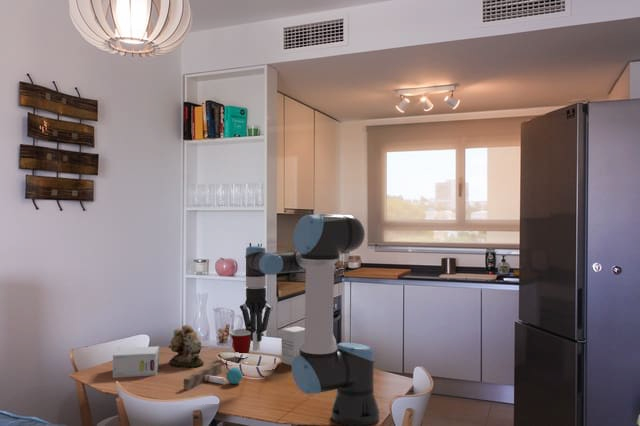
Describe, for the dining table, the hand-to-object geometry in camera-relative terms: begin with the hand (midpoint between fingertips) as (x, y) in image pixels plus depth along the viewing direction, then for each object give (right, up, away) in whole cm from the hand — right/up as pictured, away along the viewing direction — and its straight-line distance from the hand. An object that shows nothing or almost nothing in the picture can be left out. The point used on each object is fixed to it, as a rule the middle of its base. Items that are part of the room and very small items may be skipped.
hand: (256, 349), depth 205 cm
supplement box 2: (+13, -14, +33) cm, 39 cm away
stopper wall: (-22, -14, +8) cm, 27 cm away
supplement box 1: (-52, -15, +21) cm, 58 cm away
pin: (-13, -13, +4) cm, 18 cm away
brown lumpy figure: (-35, -15, +33) cm, 50 cm away
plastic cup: (-12, -15, +44) cm, 47 cm away
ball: (-9, -11, +4) cm, 15 cm away
